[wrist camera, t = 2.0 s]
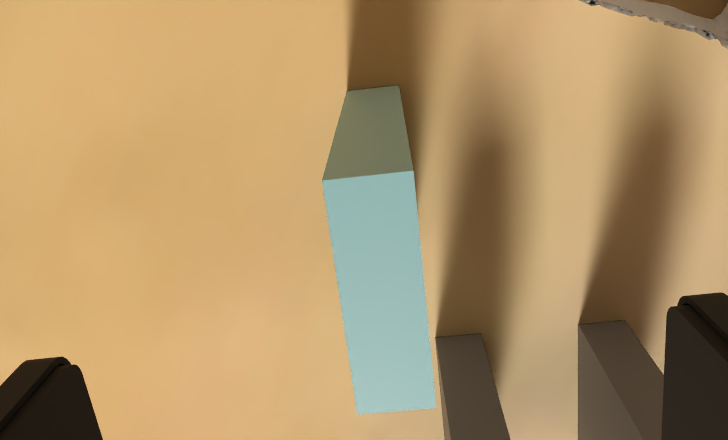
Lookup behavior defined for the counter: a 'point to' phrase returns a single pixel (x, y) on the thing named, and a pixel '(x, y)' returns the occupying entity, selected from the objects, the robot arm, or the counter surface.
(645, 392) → the domino
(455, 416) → the domino
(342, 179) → the teal domino
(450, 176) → the counter surface
